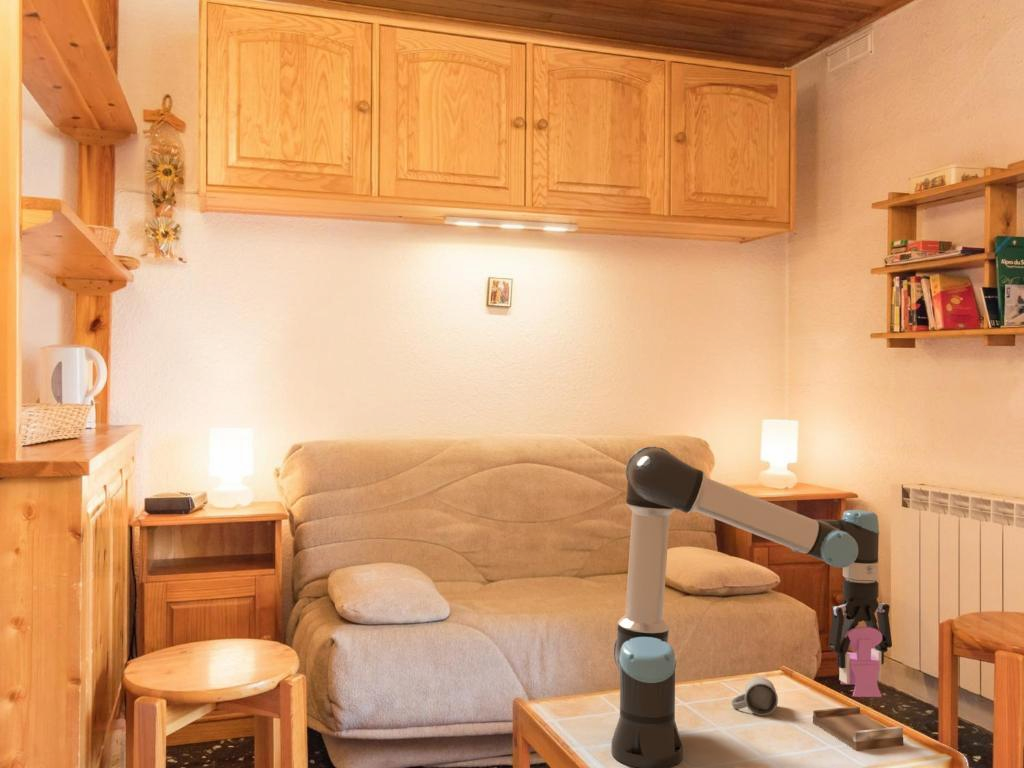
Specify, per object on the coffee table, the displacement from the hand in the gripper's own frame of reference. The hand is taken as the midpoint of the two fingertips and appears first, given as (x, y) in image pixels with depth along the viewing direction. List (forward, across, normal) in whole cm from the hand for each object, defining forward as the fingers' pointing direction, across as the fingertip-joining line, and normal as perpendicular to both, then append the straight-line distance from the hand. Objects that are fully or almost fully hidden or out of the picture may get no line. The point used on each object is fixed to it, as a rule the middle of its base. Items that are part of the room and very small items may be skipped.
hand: (860, 680), depth 198 cm
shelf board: (+13, 0, +1) cm, 13 cm away
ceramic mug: (+13, -15, +20) cm, 28 cm away
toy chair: (+2, 0, 0) cm, 2 cm away
